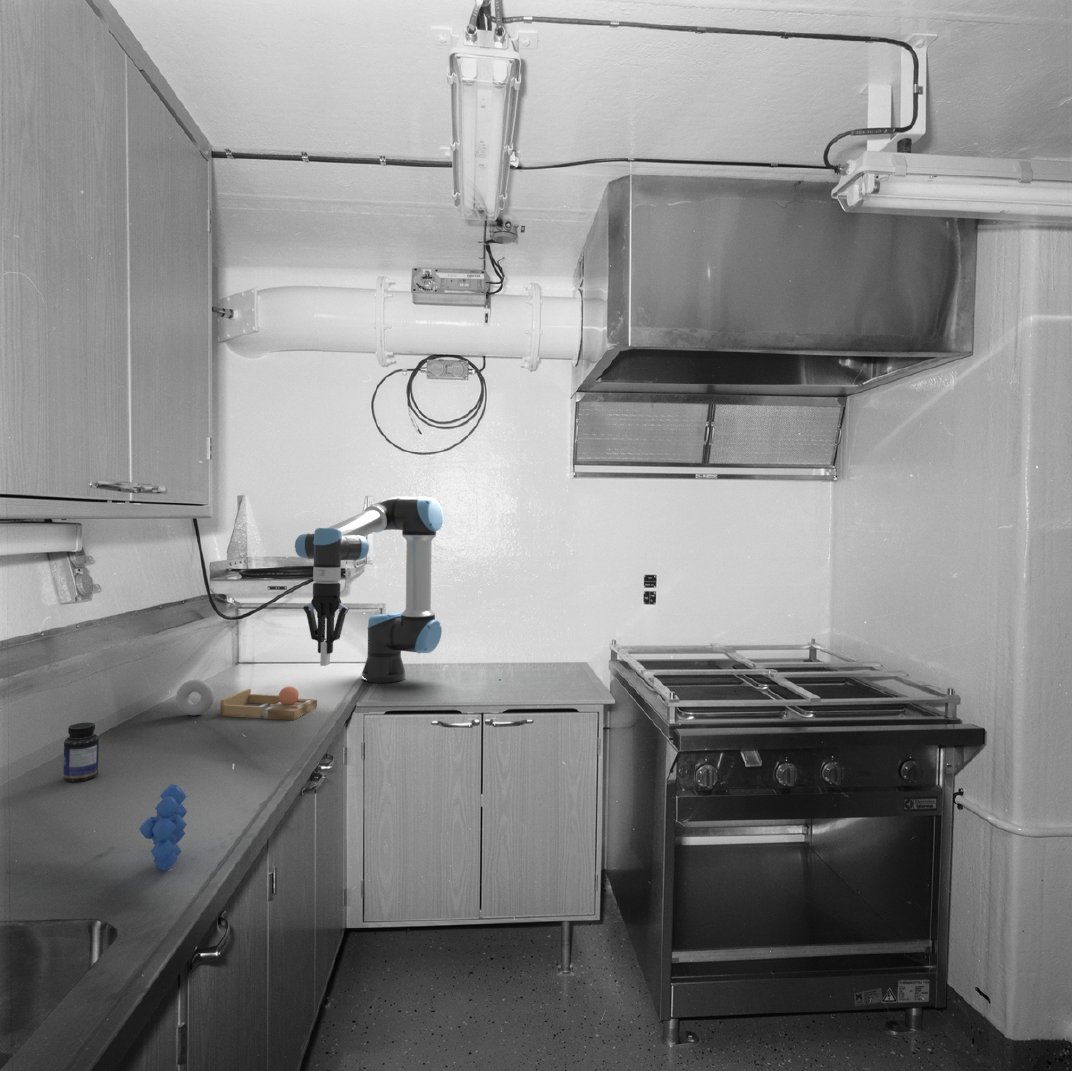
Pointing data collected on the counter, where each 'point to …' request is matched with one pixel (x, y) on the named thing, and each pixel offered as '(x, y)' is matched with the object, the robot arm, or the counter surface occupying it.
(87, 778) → the pill bottle
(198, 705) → the donut
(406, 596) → the robot arm
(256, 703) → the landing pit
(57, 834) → the counter surface
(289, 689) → the ball
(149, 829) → the grapes
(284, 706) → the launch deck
